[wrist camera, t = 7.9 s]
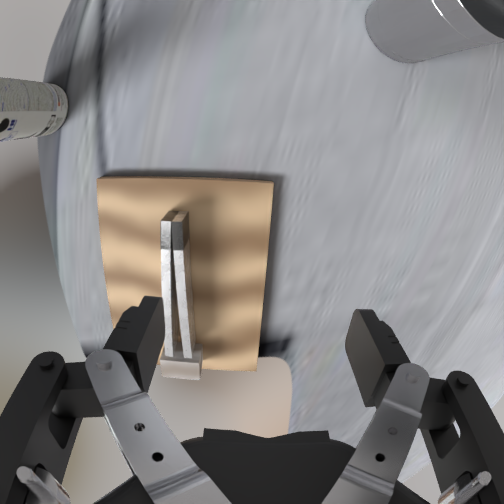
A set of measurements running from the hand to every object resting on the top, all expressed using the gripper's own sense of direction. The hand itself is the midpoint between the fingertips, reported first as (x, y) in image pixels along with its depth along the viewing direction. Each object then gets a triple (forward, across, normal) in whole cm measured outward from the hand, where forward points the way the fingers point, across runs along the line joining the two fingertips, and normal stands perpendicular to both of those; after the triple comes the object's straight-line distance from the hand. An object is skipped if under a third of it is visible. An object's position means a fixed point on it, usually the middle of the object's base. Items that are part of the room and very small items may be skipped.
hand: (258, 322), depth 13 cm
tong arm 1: (+22, +9, +11) cm, 26 cm away
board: (+24, +8, +12) cm, 28 cm away
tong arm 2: (+22, +7, +11) cm, 26 cm away
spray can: (+24, +26, -10) cm, 37 cm away
